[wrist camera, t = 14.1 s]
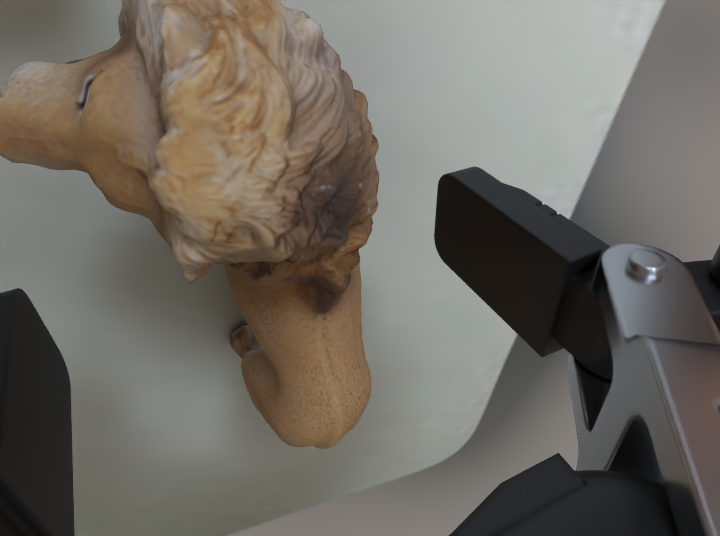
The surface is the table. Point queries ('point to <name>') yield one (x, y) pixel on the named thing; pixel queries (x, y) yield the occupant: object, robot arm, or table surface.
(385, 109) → the table surface
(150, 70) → the lion figurine
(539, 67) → the table surface
